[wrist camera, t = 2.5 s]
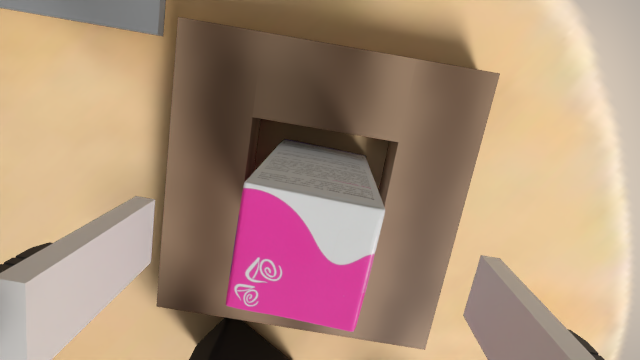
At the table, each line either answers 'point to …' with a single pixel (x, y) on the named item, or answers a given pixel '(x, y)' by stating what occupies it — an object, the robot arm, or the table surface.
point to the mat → (100, 12)
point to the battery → (235, 344)
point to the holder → (329, 114)
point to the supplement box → (306, 236)
